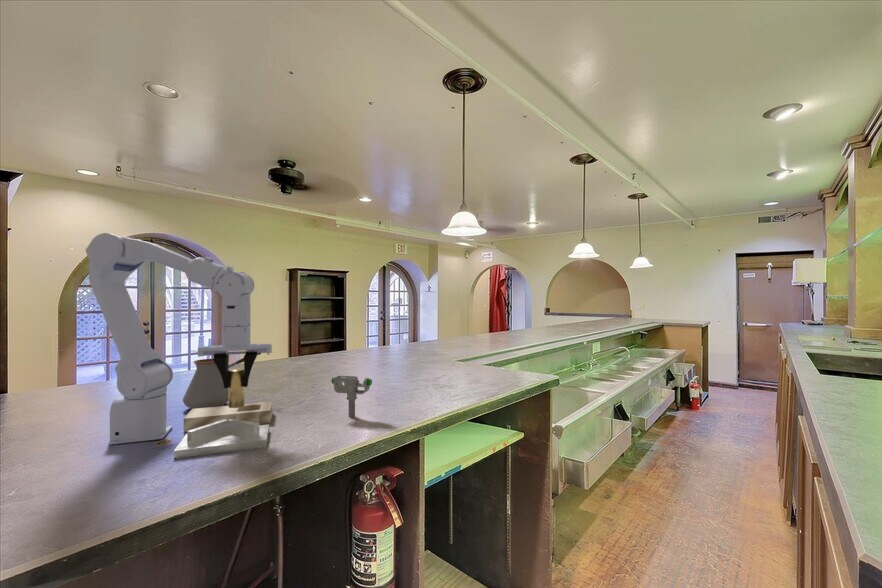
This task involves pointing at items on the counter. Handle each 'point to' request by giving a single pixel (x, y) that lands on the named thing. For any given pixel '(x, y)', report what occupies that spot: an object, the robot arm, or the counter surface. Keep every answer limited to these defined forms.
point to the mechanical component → (350, 389)
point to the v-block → (222, 438)
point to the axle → (236, 388)
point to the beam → (228, 415)
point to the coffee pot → (207, 386)
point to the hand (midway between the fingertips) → (236, 386)
